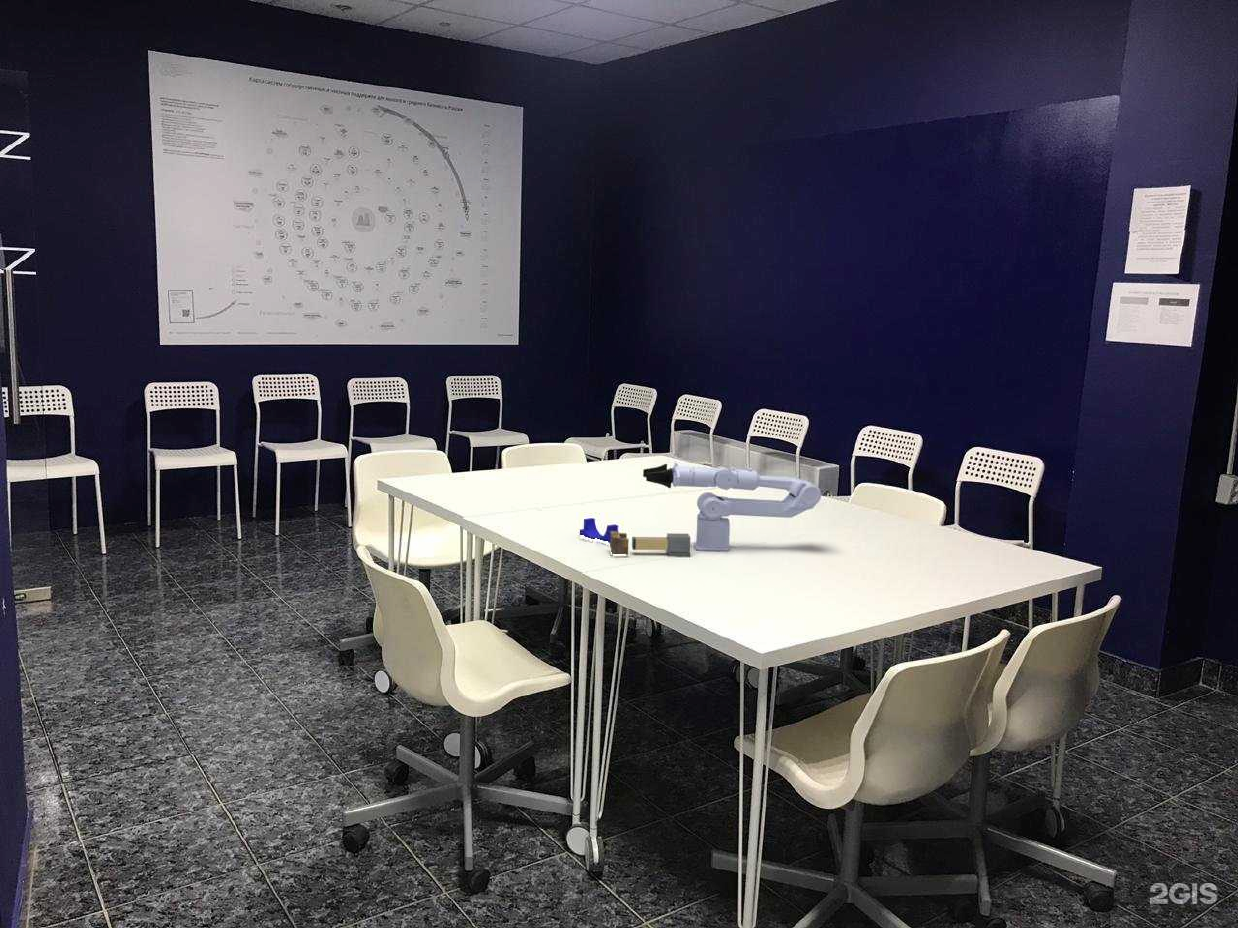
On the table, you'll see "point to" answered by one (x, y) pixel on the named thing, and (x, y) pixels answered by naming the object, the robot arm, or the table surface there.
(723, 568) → the table surface
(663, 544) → the tube
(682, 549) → the sleeve
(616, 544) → the socket block
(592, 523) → the cable clip
